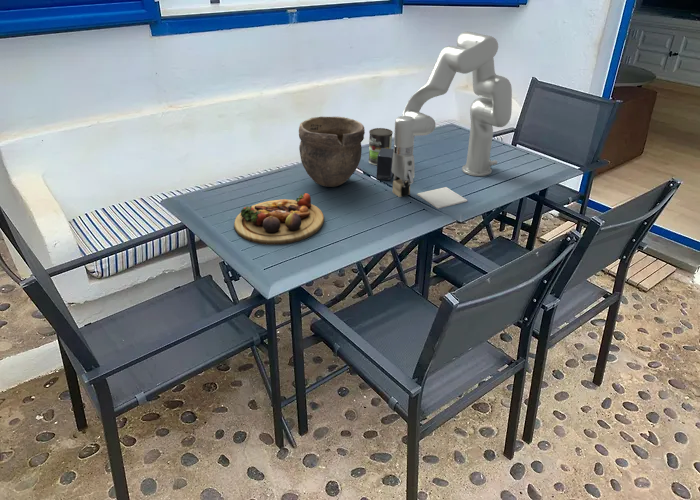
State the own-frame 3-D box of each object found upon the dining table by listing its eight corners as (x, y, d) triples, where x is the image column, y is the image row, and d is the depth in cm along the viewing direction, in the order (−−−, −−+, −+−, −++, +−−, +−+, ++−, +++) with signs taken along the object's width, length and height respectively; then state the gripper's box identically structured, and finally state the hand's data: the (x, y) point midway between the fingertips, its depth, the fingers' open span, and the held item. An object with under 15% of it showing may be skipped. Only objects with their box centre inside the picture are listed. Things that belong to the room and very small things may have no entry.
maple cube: (403, 190, 221) (403, 178, 218) (409, 194, 217) (410, 183, 215) (392, 192, 219) (392, 180, 216) (399, 197, 215) (399, 185, 213)
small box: (391, 180, 229) (392, 157, 224) (375, 179, 230) (376, 156, 225) (394, 171, 238) (395, 148, 233) (379, 170, 239) (380, 147, 234)
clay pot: (375, 187, 223) (377, 127, 210) (320, 201, 211) (318, 139, 199) (342, 166, 242) (342, 111, 230) (290, 178, 231) (287, 120, 218)
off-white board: (445, 188, 222) (446, 186, 222) (467, 201, 212) (467, 200, 212) (417, 194, 217) (417, 193, 217) (437, 208, 206) (437, 207, 206)
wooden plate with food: (298, 197, 215) (296, 178, 211) (340, 229, 192) (340, 208, 187) (221, 219, 200) (218, 198, 196) (257, 256, 177) (254, 233, 173)
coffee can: (381, 167, 242) (382, 136, 235) (363, 161, 248) (364, 131, 240) (395, 161, 248) (397, 131, 241) (378, 155, 254) (379, 126, 247)
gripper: (424, 154, 204) (420, 199, 213) (400, 141, 217) (397, 183, 226) (407, 158, 201) (404, 202, 210) (383, 144, 214) (382, 186, 223)
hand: (401, 192), depth 218 cm, fingers closed on maple cube, 5 cm apart
